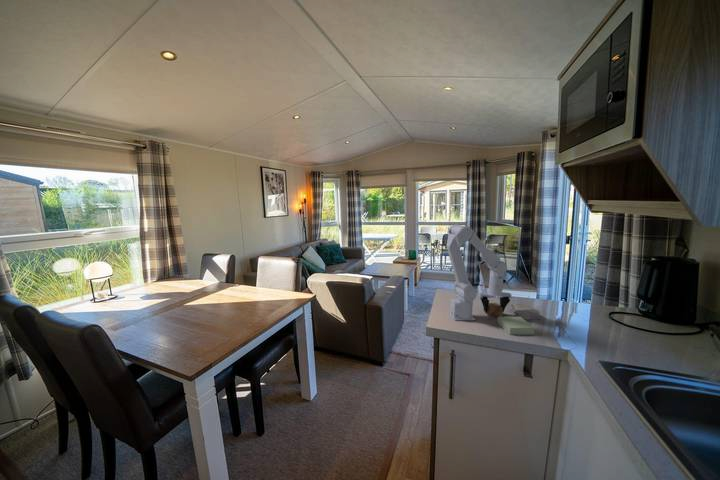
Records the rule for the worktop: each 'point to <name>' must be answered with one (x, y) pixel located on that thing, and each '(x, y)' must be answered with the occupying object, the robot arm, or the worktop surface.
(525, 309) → the stone block
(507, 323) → the base block
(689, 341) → the worktop surface
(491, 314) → the walnut block
